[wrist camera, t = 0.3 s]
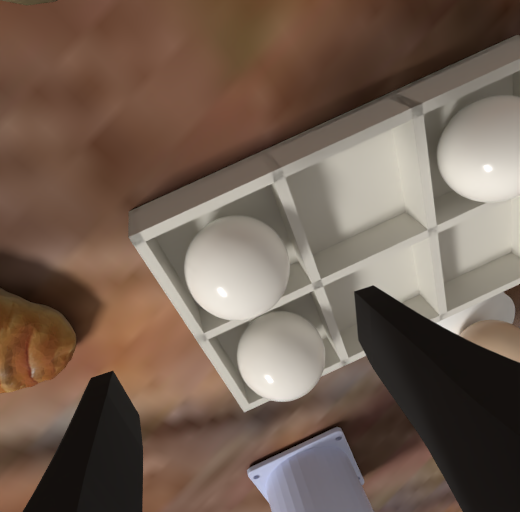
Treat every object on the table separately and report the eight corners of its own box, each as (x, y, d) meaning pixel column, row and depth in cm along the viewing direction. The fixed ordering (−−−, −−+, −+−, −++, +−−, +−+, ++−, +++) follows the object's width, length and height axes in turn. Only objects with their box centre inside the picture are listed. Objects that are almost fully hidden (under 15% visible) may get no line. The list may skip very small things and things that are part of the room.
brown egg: (501, 339, 31) (555, 390, 27) (442, 367, 31) (488, 422, 27) (500, 294, 28) (560, 342, 24) (436, 324, 28) (485, 377, 24)
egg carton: (513, 251, 28) (544, 272, 25) (235, 380, 27) (244, 412, 25) (516, 35, 20) (560, 39, 18) (128, 211, 20) (128, 237, 17)
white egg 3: (502, 157, 23) (579, 192, 19) (422, 194, 23) (483, 236, 19) (501, 69, 20) (592, 88, 16) (411, 110, 20) (479, 139, 16)
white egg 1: (285, 257, 23) (317, 313, 19) (204, 295, 23) (219, 359, 19) (254, 182, 20) (285, 228, 16) (161, 224, 20) (169, 281, 16)
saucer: (507, 335, 32) (514, 342, 32) (424, 374, 32) (430, 382, 31) (506, 268, 28) (515, 275, 28) (412, 312, 28) (419, 320, 27)
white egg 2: (316, 335, 26) (348, 395, 22) (246, 367, 26) (266, 433, 22) (294, 280, 24) (326, 338, 20) (216, 316, 24) (233, 381, 20)
